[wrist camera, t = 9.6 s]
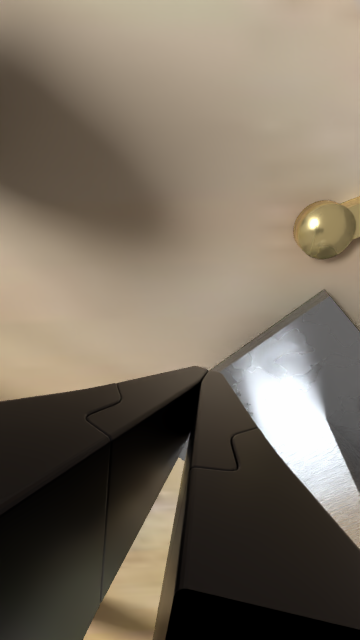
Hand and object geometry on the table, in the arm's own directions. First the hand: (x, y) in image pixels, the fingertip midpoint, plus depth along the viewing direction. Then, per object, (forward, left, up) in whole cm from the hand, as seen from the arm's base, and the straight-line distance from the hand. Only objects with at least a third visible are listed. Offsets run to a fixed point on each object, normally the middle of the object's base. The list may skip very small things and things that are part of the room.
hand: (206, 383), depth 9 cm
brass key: (+5, +8, -12) cm, 15 cm away
